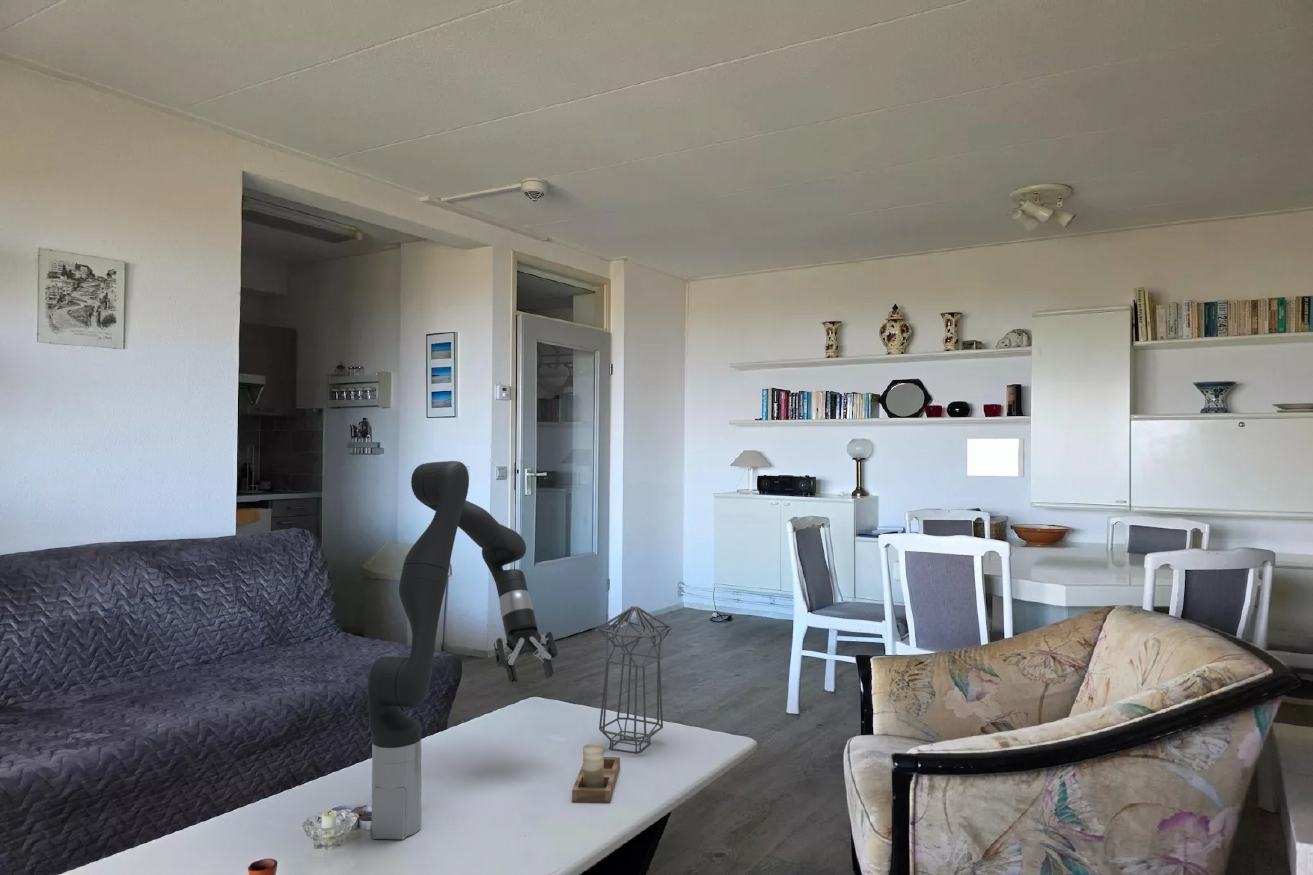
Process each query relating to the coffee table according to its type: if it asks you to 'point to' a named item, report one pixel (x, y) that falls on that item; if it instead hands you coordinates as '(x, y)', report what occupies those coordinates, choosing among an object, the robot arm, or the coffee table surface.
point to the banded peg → (593, 766)
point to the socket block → (598, 793)
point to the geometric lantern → (642, 623)
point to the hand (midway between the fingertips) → (532, 680)
